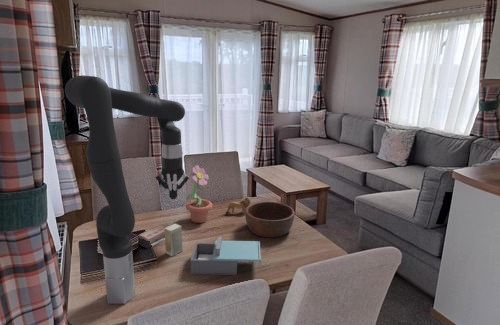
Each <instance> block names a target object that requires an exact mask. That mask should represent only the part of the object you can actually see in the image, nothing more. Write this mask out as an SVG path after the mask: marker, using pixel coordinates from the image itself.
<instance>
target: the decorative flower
mask: <svg viewBox="0 0 500 325" xmlns="http://www.w3.org/2000/svg"><path fill="white" fill-rule="evenodd" d="M191 170H192V172H191V173H190V177H191V178H192V180H193V182H194V184H193V186H192V191H191V194H189V195H187V197H186V201H187V203H186V205H185V209H186V210H187V211H188V212H190V213H189V214H190V220H191V222H193V223H195V224H202V223H205V222H207V220H208V215H209V211H210V210H212V208H213V203H212V202H211V201H210V200H209V199H203V198H201V197H199V196H198V195H197V193H196V191H197V189H198V190H200V191H202V190H203V187H201V186H206V185H208V180H209V179H210V177H209V175H208V173H206V170H205V168H203V167H200V166H199V164H196V165H195V166H193V167H192V169H191ZM190 199H191V200H190Z"/></svg>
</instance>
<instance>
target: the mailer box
mask: <svg viewBox="0 0 500 325" xmlns="http://www.w3.org/2000/svg"><path fill="white" fill-rule="evenodd" d="M214 246H215V242H195V245H194V248H193V251H192V254H191V257H190V274H191V275H217V276H218V275H219V276H220V275H223V276H224V275H227V276H229V275H231V276H237V275H238V274H237V272H238V262H239V261H212V256H213V251H214Z"/></svg>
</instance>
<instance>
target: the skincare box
mask: <svg viewBox="0 0 500 325" xmlns="http://www.w3.org/2000/svg"><path fill="white" fill-rule="evenodd" d="M164 230H165V241H164V243H165V254H167V255H169V256H170V257H174V256H175V255H178V254H180V253H182V252H183V251H184V250H183V248H184V247H183V234H182V233H183V231H182V225H180V224H178V223H173V224H171V226H168V227H166V228H164Z"/></svg>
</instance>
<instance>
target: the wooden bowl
mask: <svg viewBox="0 0 500 325" xmlns="http://www.w3.org/2000/svg"><path fill="white" fill-rule="evenodd" d="M295 215H296V213H295V210H294V209H293V207H291V206H289V205H288V204H284V203H282V202H279V201H278V202H276V201H258V202H253V203H251V204H250V205H249V206H247V207H246V209H245V214H244V216H245V221H246V225H247V227H248V229H249V231H250V232H251V233H252V234H253V235H256V236H259V237H262V238H273V237H274V238H279V237H283V236H284V235H287V234H288V233H289V232H290V230H291V229H292V226H293V224H294V220H295Z"/></svg>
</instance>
